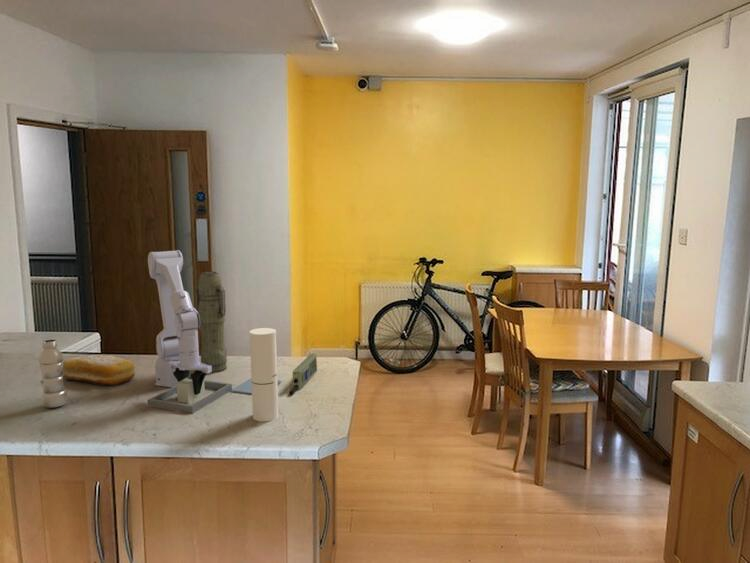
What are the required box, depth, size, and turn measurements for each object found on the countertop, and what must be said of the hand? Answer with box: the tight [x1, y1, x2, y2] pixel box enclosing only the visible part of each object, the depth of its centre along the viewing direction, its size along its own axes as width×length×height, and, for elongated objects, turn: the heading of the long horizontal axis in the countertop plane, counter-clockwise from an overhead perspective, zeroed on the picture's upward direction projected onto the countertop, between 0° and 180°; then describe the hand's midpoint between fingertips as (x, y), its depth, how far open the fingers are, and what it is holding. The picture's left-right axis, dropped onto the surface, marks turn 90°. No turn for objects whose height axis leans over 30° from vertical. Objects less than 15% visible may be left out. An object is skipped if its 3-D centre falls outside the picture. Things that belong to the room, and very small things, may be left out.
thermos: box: [195, 271, 228, 374], centre depth 199 cm, size 9×12×35 cm
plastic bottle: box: [38, 339, 68, 409], centre depth 167 cm, size 6×7×20 cm
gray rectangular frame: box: [147, 379, 233, 414], centre depth 175 cm, size 16×20×2 cm
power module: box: [176, 375, 206, 404], centre depth 174 cm, size 4×8×7 cm, turn 161°
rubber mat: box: [230, 377, 282, 396], centre depth 184 cm, size 11×13×1 cm
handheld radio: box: [288, 353, 318, 396], centre depth 188 cm, size 7×3×25 cm
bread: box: [63, 354, 136, 386], centre depth 192 cm, size 13×26×8 cm, turn 71°
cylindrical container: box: [249, 327, 279, 423], centre depth 159 cm, size 7×7×25 cm
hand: (191, 392), depth 175 cm, fingers closed on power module, 4 cm apart
